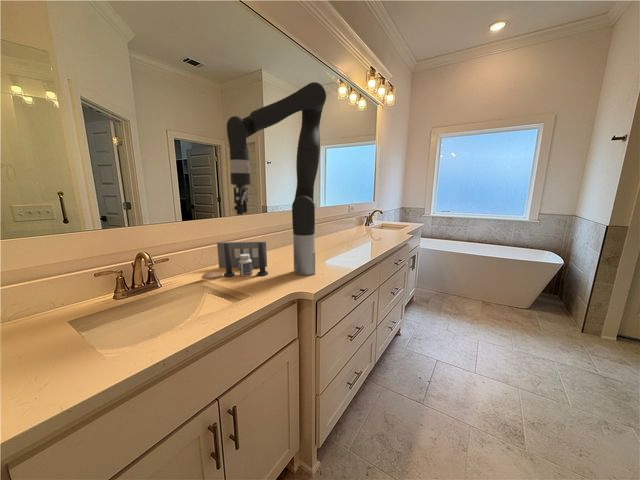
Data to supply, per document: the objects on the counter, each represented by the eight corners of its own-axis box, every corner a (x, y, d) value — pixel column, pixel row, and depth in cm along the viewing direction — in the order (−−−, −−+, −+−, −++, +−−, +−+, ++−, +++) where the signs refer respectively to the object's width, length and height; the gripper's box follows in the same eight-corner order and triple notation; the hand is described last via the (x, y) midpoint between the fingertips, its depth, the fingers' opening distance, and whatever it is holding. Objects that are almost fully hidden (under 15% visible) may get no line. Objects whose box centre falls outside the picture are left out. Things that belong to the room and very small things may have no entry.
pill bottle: (254, 273, 111) (253, 253, 109) (247, 277, 106) (246, 256, 104) (244, 272, 112) (243, 252, 111) (237, 276, 108) (235, 255, 106)
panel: (267, 265, 122) (266, 241, 119) (266, 267, 119) (265, 242, 117) (219, 267, 120) (217, 242, 117) (218, 268, 118) (216, 243, 115)
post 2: (268, 272, 112) (267, 241, 109) (267, 275, 108) (265, 243, 105) (258, 272, 112) (256, 241, 109) (256, 276, 107) (255, 243, 105)
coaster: (224, 272, 112) (224, 271, 112) (219, 278, 104) (219, 277, 104) (206, 273, 112) (206, 272, 111) (199, 279, 104) (199, 278, 104)
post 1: (235, 273, 111) (233, 242, 108) (233, 276, 107) (231, 244, 104) (225, 273, 110) (223, 242, 108) (222, 277, 106) (219, 244, 103)
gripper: (246, 171, 94) (248, 215, 97) (253, 173, 108) (254, 212, 111) (225, 171, 93) (228, 215, 97) (234, 173, 107) (237, 211, 111)
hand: (242, 213), depth 104 cm, fingers open, 8 cm apart
